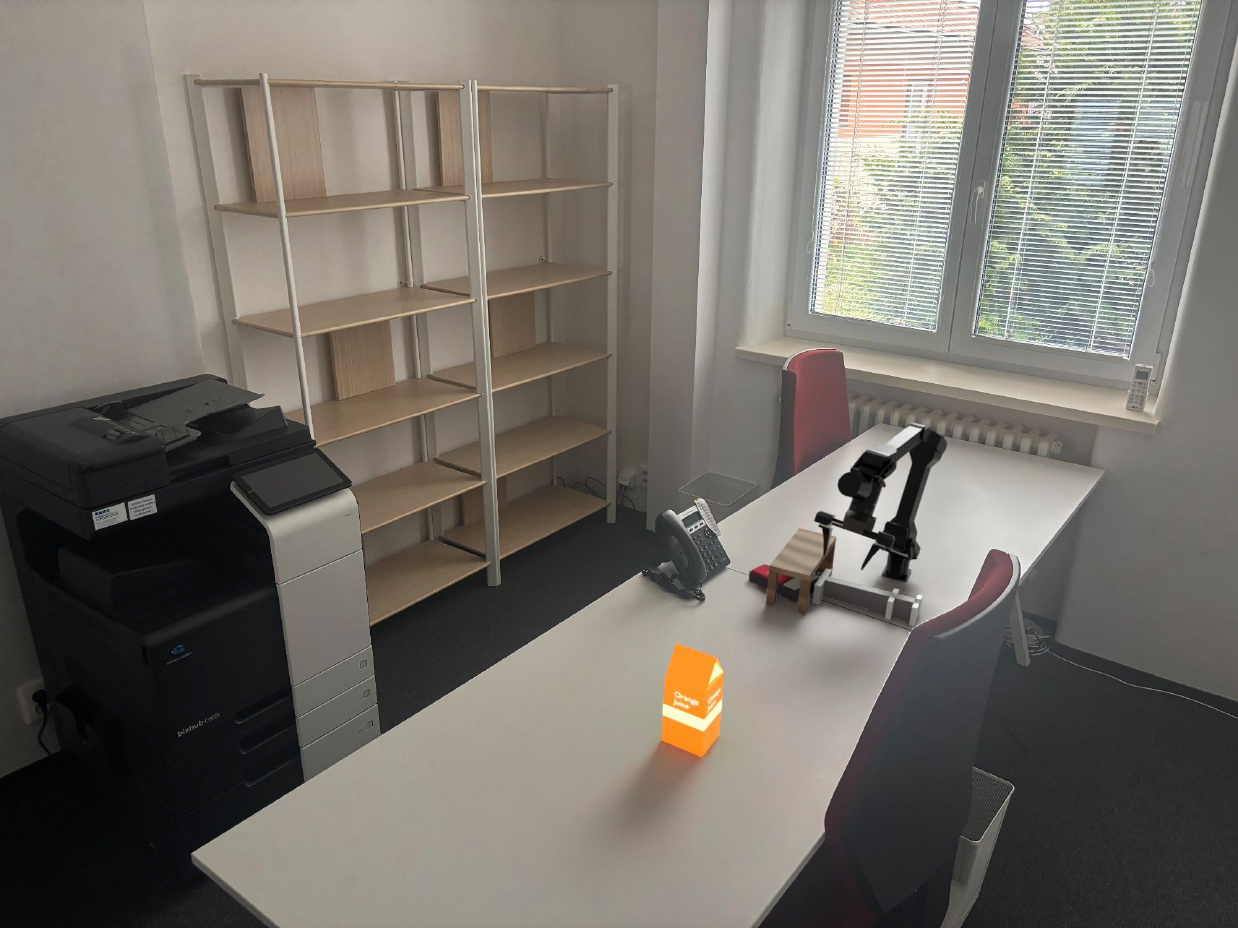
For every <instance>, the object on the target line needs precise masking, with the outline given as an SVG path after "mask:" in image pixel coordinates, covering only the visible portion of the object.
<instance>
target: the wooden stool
mask: <svg viewBox="0 0 1238 928" xmlns="http://www.w3.org/2000/svg"><path fill="white" fill-rule="evenodd" d="M836 542H837V536H834V535H831V538H830V542H829V546H828V550H827V553H826V556H825V557H824V556H823V532H822V533H821V532H817V531H814V530H813V531H812V530H809V529H804V528H800V527H799V528H798V529H797V530H796V532H795V533H794V535H792V537H791V538H790V539H789V540H788V542H787V543H786V544H785V545H784V547H782V549H781V550H780V552H779V553H778V554H777V555H776V556H775V558H773V559H774V560H773V559H772V560H773V562H772V563H771V564H770V565H769V575H768V586H767V589H766V597H765V598H766V599H765V600H766V601H765V606H767V607H768V606H769V607H771V608H773V607H775V606H776V604H777V597H778V594H777V589H778V579H779V574H783V575H787V576H791V577H795V578H799V579H801V581H800V590H799V600H798V602H797V608H796V609H797V611H796V614H798V615H802V616H806V615H807V613H808V612H809V611H808V609H809V603H810V602H809V601H810V595H809V593H810V585H811V577H812V576H813V574H814V575H815V573H817V574H821V575H822V574H823V572H824V571H825V569H826V568H827V569H831V570H832V571H833V567H834V560H835V559H834V558H835V551H836ZM832 574H833V572H832V573H831V575H832Z"/></svg>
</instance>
